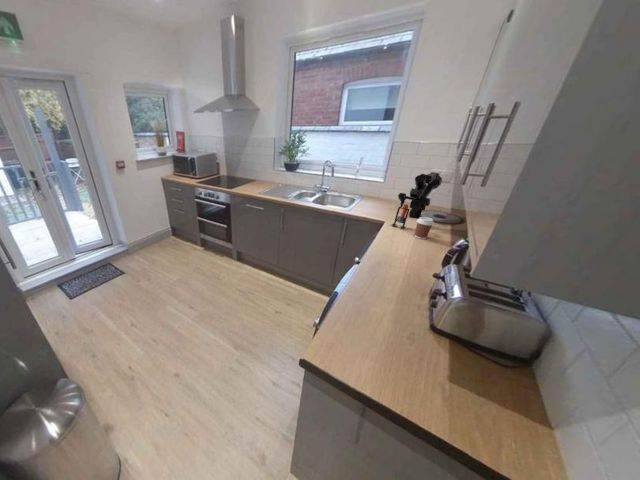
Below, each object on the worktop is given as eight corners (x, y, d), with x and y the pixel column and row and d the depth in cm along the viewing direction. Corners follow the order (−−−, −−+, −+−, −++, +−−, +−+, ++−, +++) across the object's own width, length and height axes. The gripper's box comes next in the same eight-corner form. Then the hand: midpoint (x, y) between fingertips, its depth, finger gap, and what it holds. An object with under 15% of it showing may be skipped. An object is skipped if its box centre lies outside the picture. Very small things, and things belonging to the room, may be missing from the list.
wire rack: (393, 225, 176) (398, 206, 170) (404, 228, 171) (410, 209, 164) (391, 225, 175) (397, 206, 168) (403, 229, 170) (409, 209, 163)
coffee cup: (419, 232, 165) (425, 215, 159) (432, 238, 157) (439, 220, 152) (408, 234, 162) (414, 217, 157) (421, 240, 155) (427, 222, 149)
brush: (397, 221, 175) (404, 203, 172) (405, 223, 172) (412, 205, 168) (394, 221, 171) (400, 203, 167) (402, 223, 168) (409, 205, 164)
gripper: (403, 181, 175) (392, 200, 173) (434, 186, 162) (422, 206, 161) (404, 190, 183) (393, 208, 181) (434, 195, 170) (423, 215, 169)
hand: (407, 209), depth 173 cm, fingers open, 9 cm apart
